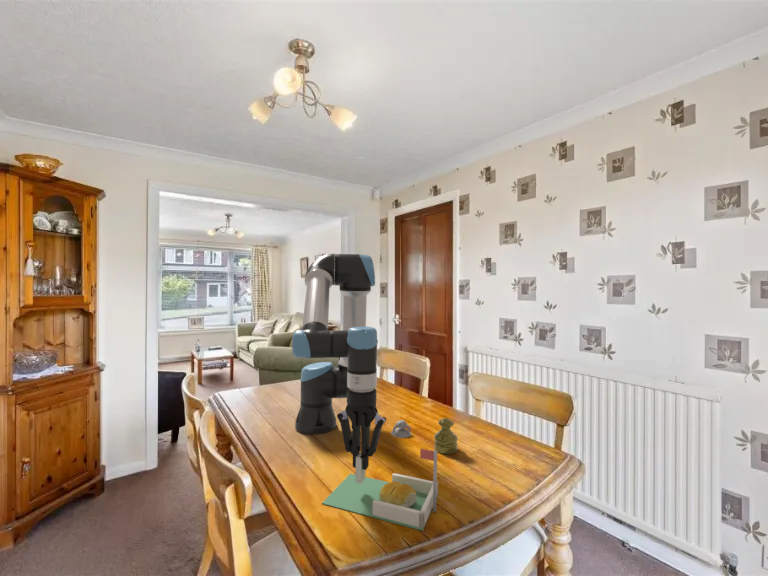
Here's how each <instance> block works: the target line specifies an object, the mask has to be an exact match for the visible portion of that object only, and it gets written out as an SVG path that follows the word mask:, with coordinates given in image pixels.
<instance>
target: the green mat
mask: <svg viewBox="0 0 768 576" xmlns="http://www.w3.org/2000/svg"><path fill="white" fill-rule="evenodd" d="M355 479H356V473H355V474H354V473H349V474H348V475H347V476H346V477H345V479H343V480H342V482H340V484H339V485H337V487H336V488H335V489H334V490H333V491H332V492H331V493H330V494H329V495H328V496H327V497H326V498H325V499H324V500H323V501H322V502H321V504H322V505H325V506H327V507H328V506H329V507H331V508H332V507H333V508H337V509H338V510H339V509H340V510H343V511H346V512H347V511H348V512H351V513H355V514H359V515H363V516H366V517H369V518H372V519H376V520H381V521H384V522H387V523H391V524H395V525H400V526H403V527H406V528H409V529H410V528H411V529H414V530H418V531H424V529H425V527H426V525H425V526H424V528H419V527H416V526H412V525H408V524H404V523H401V522H397V521H393V520H389V519H386V518H382V517H378V516H374V515H372V514H373V501H374V500H378V501H380V498H379V495H380V490H381V488H382V487H383V486H384V485H386V484H387V483H390V482H391V481H390V482H389V481H385V480H381V479H376V478H372V477H367V476H365V479H364V481H363V482H362V483H361V484H359V483H355ZM416 495H417V500H416V502H415V503H414V504H413V505H412V506H410V507H408V508H410V509H414V510H419V511H421V509H422V506H423V504H424V502H425V500H426V498H427V496H428V494H424V493H420V492H416ZM438 496H439V494H438V495H437V498H438ZM437 498H436V500H437ZM432 509H433V507H432ZM431 513H432V511H431V512H430V514H429V516H430V515H431ZM428 519H429V518H428ZM428 519H427V521H426V523H427V522H428Z"/></svg>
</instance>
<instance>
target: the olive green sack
mask: <svg viewBox="0 0 768 576" xmlns="http://www.w3.org/2000/svg"><path fill="white" fill-rule="evenodd" d="M438 425H439V426H440V427H441V428H440V430H439V431H438V432H436V433H435V434H434V445H433V446H434V450H436V451H437V453H440V454H442V455H452V454H455V453H457V451H458V435H457V434H456V433H454V431H452V430H451V427H453V426H454V425H455V422H454V421H453V420H452V419H449V418H448V417H444V418H441V419H439V420H438Z"/></svg>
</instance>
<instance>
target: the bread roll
mask: <svg viewBox="0 0 768 576" xmlns="http://www.w3.org/2000/svg"><path fill="white" fill-rule="evenodd" d="M379 498H380V501H382V502H386V503H390V504H394V505H398V506H402V507H406V508H408V507H410V506H412V505H413V504H414V503H415V502H416V500H417V495H416V491H415V490H414V489H413V488H412V487H411V486H409V485H407V484H403V485H402V484H401V483H399V482H392V481H390V483H387V484H386V485H384V486H383V487H382V488H381V490H380V495H379Z"/></svg>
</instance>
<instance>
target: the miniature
mask: <svg viewBox="0 0 768 576" xmlns="http://www.w3.org/2000/svg"><path fill="white" fill-rule="evenodd" d="M390 434H391V435H392V436H393V437H395V438H398V439H405V438H409V437H411V436H412V432H411V426H410V425H409V424H407V422H406V421H405V419H400V420H397V421H396V422H395V425H394V426H393V428H392V430H391V431H390Z"/></svg>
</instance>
